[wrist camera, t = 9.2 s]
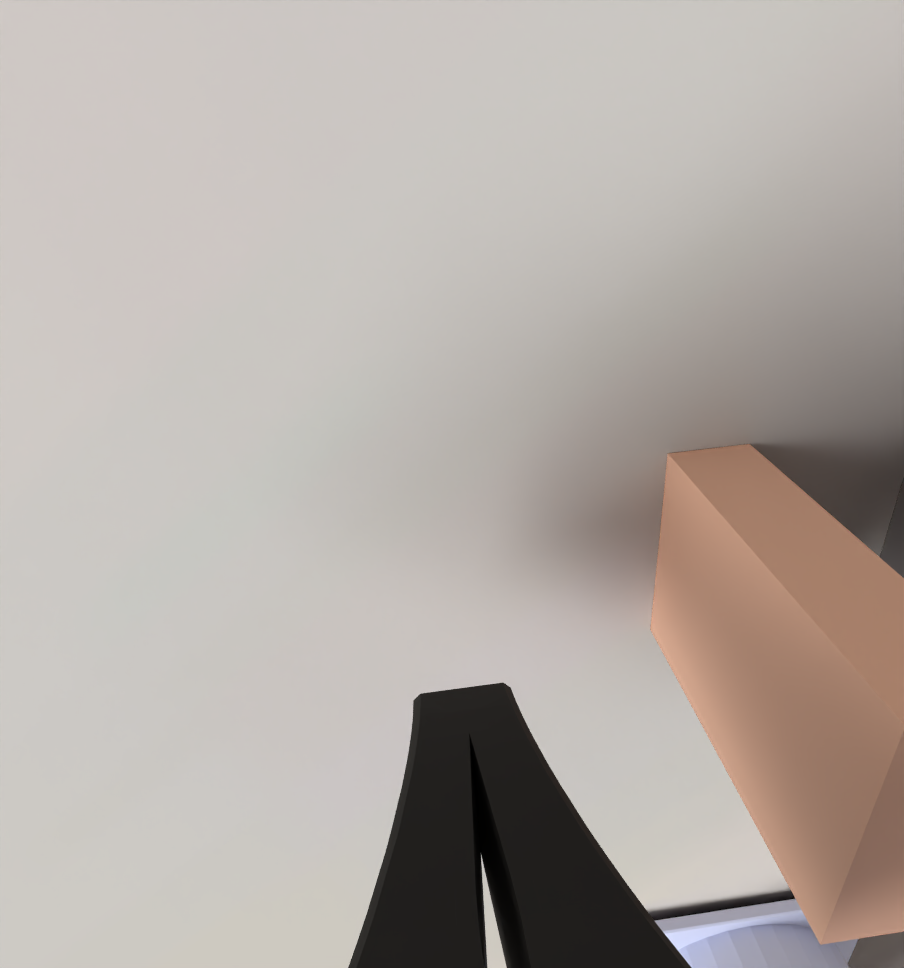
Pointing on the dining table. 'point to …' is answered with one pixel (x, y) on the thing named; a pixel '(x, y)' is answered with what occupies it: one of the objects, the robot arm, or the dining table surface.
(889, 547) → the domino
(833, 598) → the domino
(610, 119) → the dining table surface
